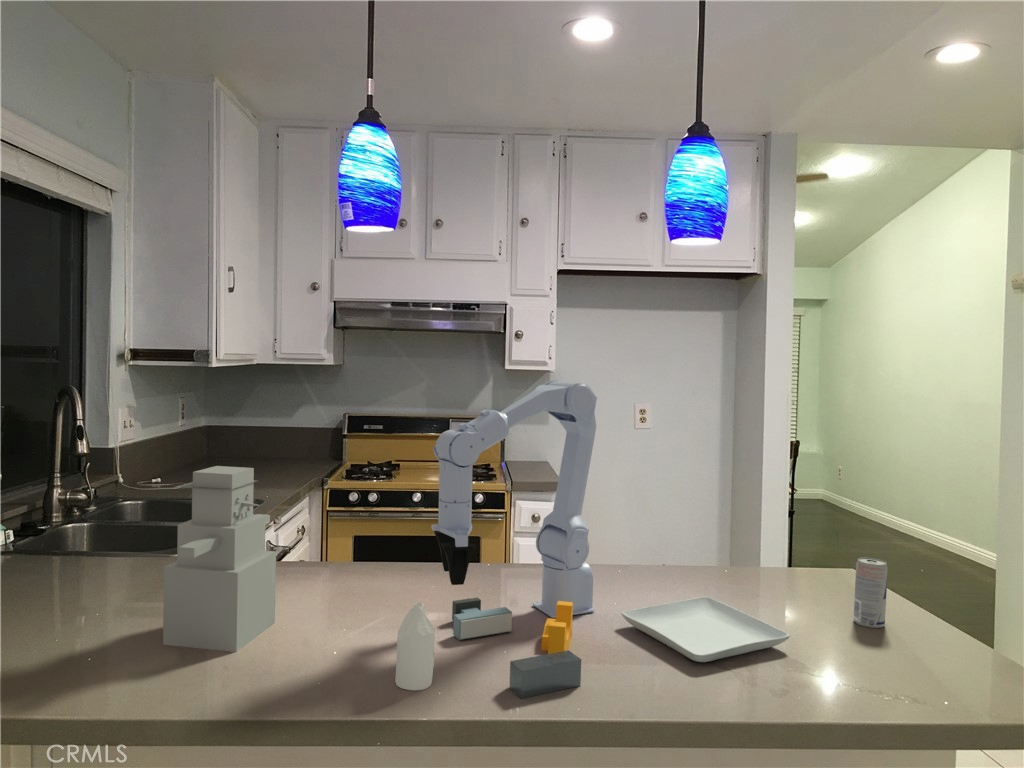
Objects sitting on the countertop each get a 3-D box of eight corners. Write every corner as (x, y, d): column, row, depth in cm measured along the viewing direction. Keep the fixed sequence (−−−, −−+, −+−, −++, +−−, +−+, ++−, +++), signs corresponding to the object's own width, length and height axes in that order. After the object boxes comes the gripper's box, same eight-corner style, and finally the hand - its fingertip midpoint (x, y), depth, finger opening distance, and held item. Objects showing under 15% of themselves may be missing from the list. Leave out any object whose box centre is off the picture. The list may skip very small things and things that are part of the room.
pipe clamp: (546, 636, 126) (548, 599, 126) (571, 638, 125) (572, 602, 125) (536, 664, 114) (537, 624, 114) (563, 667, 114) (565, 627, 113)
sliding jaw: (489, 614, 135) (489, 595, 135) (512, 632, 127) (513, 612, 126) (439, 621, 130) (439, 602, 130) (460, 640, 122) (460, 620, 122)
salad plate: (697, 675, 113) (698, 653, 113) (617, 628, 132) (618, 609, 132) (793, 653, 123) (794, 633, 122) (706, 612, 141) (706, 595, 141)
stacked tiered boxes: (139, 659, 112) (141, 479, 111) (223, 607, 135) (225, 458, 134) (216, 667, 110) (219, 484, 109) (288, 613, 133) (291, 462, 132)
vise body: (566, 674, 111) (567, 649, 111) (580, 685, 107) (581, 659, 107) (508, 686, 106) (509, 660, 106) (521, 698, 103) (521, 671, 102)
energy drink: (884, 621, 138) (887, 559, 138) (885, 630, 133) (888, 566, 133) (853, 616, 141) (856, 555, 140) (853, 625, 136) (856, 562, 135)
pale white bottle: (391, 598, 107) (425, 593, 110) (389, 678, 108) (423, 670, 111) (407, 611, 102) (443, 605, 105) (405, 694, 103) (440, 685, 106)
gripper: (426, 492, 131) (425, 566, 132) (438, 509, 117) (436, 592, 118) (465, 491, 133) (463, 564, 133) (481, 508, 119) (479, 589, 119)
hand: (453, 577), depth 126 cm, fingers open, 7 cm apart
